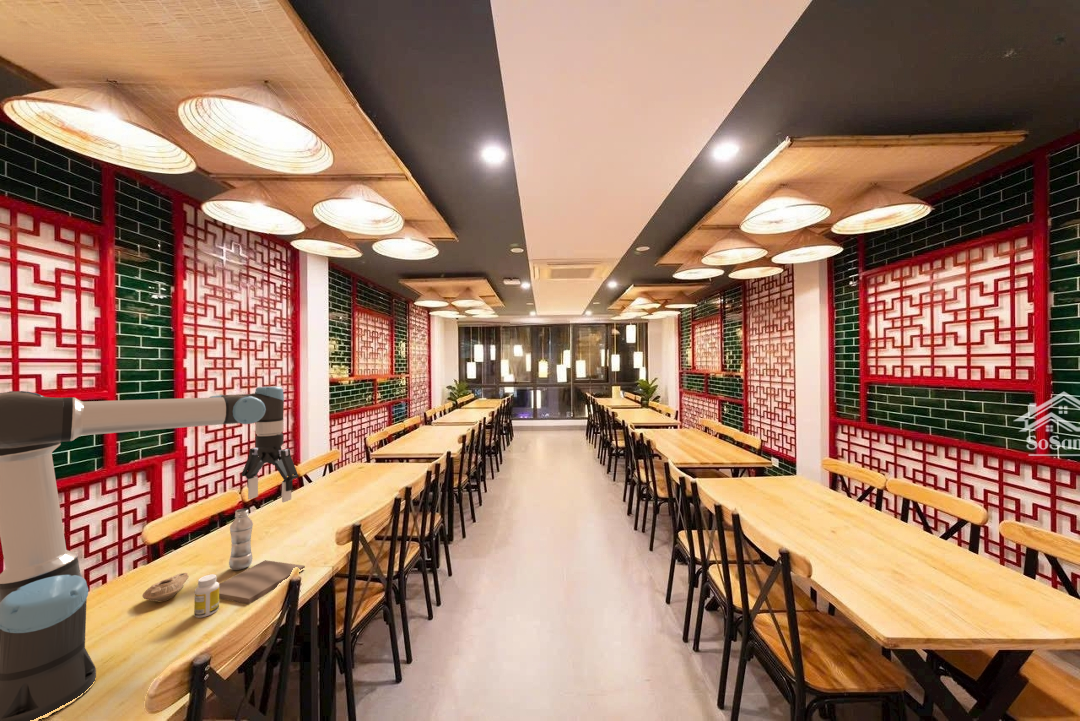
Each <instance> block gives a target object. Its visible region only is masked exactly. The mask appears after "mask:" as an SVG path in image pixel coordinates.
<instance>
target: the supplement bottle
mask: <svg viewBox="0 0 1080 721" xmlns="http://www.w3.org/2000/svg"><path fill="white" fill-rule="evenodd" d="M219 584H220V582H218V581H217V575H216V574H213V573H211V574H207V575H204V576H202V577H200V578H199V579H198V580H197V587H196V588H195V590H194V602H193V603H194V604H193V607H194V608H193V610H194V613H193V614H194V615H193V616H194V617H195V618H198V619H199V618H205V617H208V616H211V615H214V614H215V613H216V612H218V610H220V609H219V607H220V599H219Z"/></svg>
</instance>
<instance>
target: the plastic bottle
mask: <svg viewBox="0 0 1080 721" xmlns="http://www.w3.org/2000/svg"><path fill="white" fill-rule="evenodd" d="M234 513H235V515H234V518H235V519H234V520H233V521H232V522H231V524H230V527H229V531H230V532H229V533H230V539H231V549H230V557H229V561H228V566H229V568H230V570H232V571H240V570H241V571H242V570H244V569H247V568H248V567H250V565H251V564H252V562H253V552H252V546H251V545H252V544H251V541H252V532H253V526H254V523H253V520H252V519H251V518H250V517H249V515H250V513H249V509H248V508H241V509H237V510H235V511H234Z"/></svg>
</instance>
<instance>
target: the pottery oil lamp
mask: <svg viewBox="0 0 1080 721" xmlns="http://www.w3.org/2000/svg"><path fill="white" fill-rule="evenodd" d="M188 579H189V574H188V572H183V573H182V572H181V573H179V574H175V575H173V576H171V577H168V578H166V579H162V580H161V581H158V582H157V583H154V584H152V585H151V586H150V587H148V588H147V589H146V590H144V592H143V593H142V599H144V600H148V601H152V602H158V601H162V602H166V601H168V599H169V600H170V598H171V599H173V598H174V597H175V595H176V594H177V593H178V592H180V591H181V590H182V589H183V587H184V585H185V583H186V582H187V580H188ZM165 600H166V601H165Z"/></svg>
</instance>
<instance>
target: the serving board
mask: <svg viewBox="0 0 1080 721" xmlns="http://www.w3.org/2000/svg"><path fill="white" fill-rule="evenodd" d="M305 566H306V565H302V564H296V563H287V562H281V561H275V560H265V559H264V560H262V561H261V562H259V563H257V564H255V565H253V566H251V567H249V568H248V569H247V568H246V570H244V571H242V572H239V573H238V574H236V575H234V576H232V577H230V578H228V579H226V580H225V581H222V582H219V600H225V601H230V602H236V603H242V604H249V605H250V604H252V603H253V602H255V601H256V600H258V599H259V598H261V597H263V596H264V595H266V594H268V593H269V592H271V591H273V590H274V589H276V588H277V587H276V586H277V585H278V584H279V583H281V582H282V581H283V580H285V579H287V578H288V577H289V576H290V574H291V572H292V570H293V568H295V567H298V568H299V569H300V570H301V569H303V568H305ZM275 587H276V588H275Z"/></svg>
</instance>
